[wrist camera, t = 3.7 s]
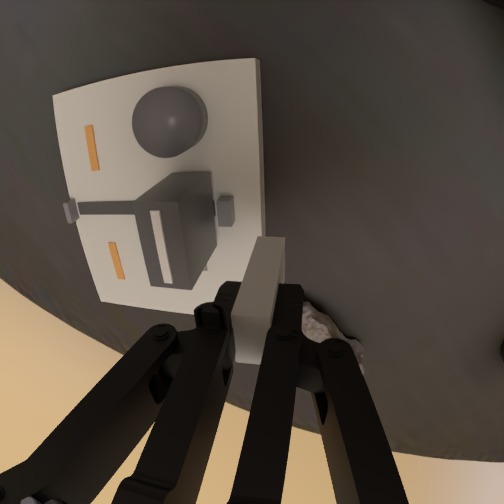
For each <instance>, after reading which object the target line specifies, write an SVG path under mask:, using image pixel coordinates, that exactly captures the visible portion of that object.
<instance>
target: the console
mask: <svg viewBox="0 0 504 504" xmlns="http://www.w3.org/2000/svg"><path fill="white" fill-rule="evenodd" d="M53 104H54V112H55V120H56V127H57V134H58V140H59V146H60V152H61V157H62V163H63V168H64V173H65V178H66V182H67V187H68V191H69V196H70V199H69V200H67V201H66V202H64V203H63V206H64V210H65V214H66V218H67V221H68V223H73V222H75V221H76V224H77V227H78V231H79V235H80V238H81V242H82V245H83V248H84V252H85V255H86V258H87V261H88V265H89V268H90V271H91V274H92V277H93V280H94V283H95V286H96V289H97V291H98V294H99V297H100V300H101V301H103V302H109V303H115V304H122V305H128V306H135V307H141V308H148V309H155V310H163V311H170V312H178V313H186V314H194V309H195V308H196V307H197V306H199V305H200V304H203V303H206V302H213V301H214V299H215V296H216V295H217V292H218V290H219V287H220V286H221V285H222V284H223V283H224V282H226V281H238V282H242V280H243V277H244V274H245V271H246V269H247V266H248V263H249V260H250V257H251V254H252V251H253V248H254V245H255V242H256V240H257V237H258V236H264V237H266V225H265V187H264V154H263V125H262V98H261V73H260V60H259V59H256V58H245V59H231V60H219V61H209V62H200V63H192V64H185V65H178V66H172V67H165V68H160V69H154V70H149V71H143V72H138V73H134V74H129V75H125V76H120V77H116V78H112V79H108V80H104V81H100V82H96V83H92V84H89V85H85V86H82V87H78V88H75V89H72V90H68V91H65V92H62V93H59V94H56V95H53ZM179 172H210V178H211V189H212V200H213V211H214V221H215V231H216V241H217V246H216V248H215V250H214V252H213V253H212V255H211V257H210V259H209V261H208V262H207V264H206V266H205V268H204V269H203V271H202V273H201V275H200V277H199V278H198V280H197V282H196V284H195V286H194V287H193V289H192V290H182V289H173V288H163V287H154V286H151V285H150V281H149V277H148V273H147V269H146V265H145V261H144V256H143V252H142V248H141V243H140V239H139V234H138V229H137V224H136V219H135V214H134V209H133V204H132V202H133V201H134V200H136V199H137V198H138V197H140V196H141V195H142V194H144V193H145V192H146V191H148V190H149V189H150V188H152V187H153V186H154V185H156V184H157V183H158V182H160V181H161V180H163V179H164V178H165V177H167V176H168V175H169V174H171V173H179Z"/></svg>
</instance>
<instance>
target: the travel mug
mask: <svg viewBox="0 0 504 504" xmlns="http://www.w3.org/2000/svg"><path fill="white" fill-rule="evenodd" d="M501 356H502V359H503V361H504V341H503V343H502V346H501Z"/></svg>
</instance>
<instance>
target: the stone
mask: <svg viewBox="0 0 504 504" xmlns="http://www.w3.org/2000/svg"><path fill="white" fill-rule="evenodd" d="M302 331H303V333H304V335H305V336H306V337H307V338H309V339H310V340H313V341H315V342H319V343H321V342H322V341H324V340H325V339H329V338H339V339H343V340H345V341H346V342H348V343H349V344H350V346H351V347H352V349H353V352H354V354H355V356H356V359H357V361H358V364H359V366H360V369H361V371H362V374H363V375H364V368H365V366H364V363H363V358H362V357H363V354H364V351H363V348H362V346H361V345H360V342H358V341H357V340H356V339H352V340H351V339H347V338H346V337H345V336H343V334H342V333H341V332H340V331H339V330H338V327H337V326H336V325H335V324H334V322H332V320H331V318H330V317H329V316H328V315H326V314H324V313H320V312H318V311H317V309H315V308H314V307H313V306H311V304H310V303H309V302H303V315H302Z"/></svg>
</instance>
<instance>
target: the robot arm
mask: <svg viewBox="0 0 504 504" xmlns="http://www.w3.org/2000/svg"><path fill="white" fill-rule="evenodd" d="M484 1H486V2H488V3H490V4H493V5H495V6H497V7H500V8H503V9H504V0H484ZM284 280H285V237H264V236H258V237H257V240H256V242H255V245H254V248H253V251H252V254H251V257H250V260H249V263H248V266H247V269H246V271H245V274H244V277H243V280H242V282H238V281H226V282H224V283H223V284H222V285H221V286H220V287H219V290H218V292H217V295H216V296H215V299H214V301H213V302H206V303H203V304H200V305H199V306H197V307H196V308H195V309H194V316H195V321H196V328H195V329H193V330H188V331H180V332H177V330H176V329H175V327H174V326H172V325H170V324H158V325H155V326H153V327H151V328H150V329H149V330H148V331H147V332H146V333H145V334H144V335H143V336H142V337H141V338H140V339H139V340H138V341H137V342H136V343H135V344H134V345H133V346H132V347H131V348H130V349H129V350H128V351H127V353H126V354H125V355H124V356H123V357H122V358H121V359H120V360H119V361H118V362H117V363H116V364H115V365H114V366H113V367H112V368H111V369H110V370H109V372H108V373H107V374H106V375H105V376H104V377H103V378H102V379H101V380H100V381H99V382H98V383H97V384H96V385H95V386H94V387H93V388H92V390H91V391H90V392H89V393H88V394H87V395H86V396H85V397H84V398H83V399H82V400H81V401H80V402H79V403H78V405H77V406H76V407H75V408H74V409H73V410H72V411H71V412H70V413H69V414H68V415H67V416H66V417H65V419H64V420H63V421H62V422H61V423H60V424H59V425H58V426H57V427H56V428H55V429H54V431H52V433H51V434H50V435H49V436H48V437H47V438H46V439H45V440H44V441H43V442H42V444H41V445H40V446H39V447H38V448H37V449H36V450H35V451H34V452H33V453H32V455H31V456H30V457H29V458H28V459H27V460H25V461H24V462H22V463H20V464H18V465H16V466H14V467H12V468H11V469H9V470H7V471H5V472H3V473H1V474H0V504H90V503H91V502H92V501H93V500H94V499H95V498H96V496H97V495H98V494H99V493H100V491H101V490H102V489H103V487H104V486H105V485H106V484H107V482H108V481H109V480H110V479H111V477H112V476H113V475H114V474H115V472H116V471H117V470H118V469H119V467H120V466H121V465H122V463H123V462H124V461H125V460H126V458H127V457H128V456H129V454H130V453H131V452H132V451H133V449H134V448H135V447H136V445H137V444H138V443H139V441H140V440H141V439H142V438H143V436H144V435H145V434H146V432H147V431H148V430H149V428H150V427H151V426H152V424H153V423H154V422H155V423H154V426H153V428H152V430H151V433H150V435H149V437H148V440H147V442H146V445H145V447H144V449H143V452H142V454H141V456H140V459H139V461H138V464H137V466H136V469H135V471H134V473H133V474H132V475H131V476H130V477H127V478H124V479H123V480H122V481H121V483H120V485H119V487H118V489H117V491H116V494H115V496H114V498H113V501H112V503H111V504H196V501H197V497H198V494H199V491H200V487H201V484H202V480H203V477H204V473H205V470H206V466H207V463H208V460H209V456H210V452H211V449H212V446H213V442H214V439H215V435H216V432H217V428H218V424H219V421H220V418H221V414H222V410H223V407H224V403H225V400H226V396H227V393H228V389H229V386H230V382H231V378H232V375H233V360H234V357H235V359H236V362H240V363H249V364H259V365H260V369H259V373H258V378H257V383H256V387H255V392H254V397H253V401H252V406H251V410H250V415H249V419H248V424H247V429H246V432H245V437H244V441H243V446H242V450H241V454H240V459H239V463H238V467H237V472H236V475H235V480H234V484H233V488H232V492H231V496H230V499H229V501H228V502H227V504H281V499H282V493H283V486H284V480H285V473H286V466H287V459H288V452H289V444H290V436H291V428H292V420H293V412H294V403H295V394H296V387H299V388H302V389H304V390H307V391H310V392H311V394H312V398H313V402H314V407H315V411H316V415H317V419H318V423H319V428H320V432H321V436H322V440H323V445H324V449H325V453H326V458H327V462H328V467H329V471H330V475H331V480H332V484H333V489H334V493H335V498H336V503H337V504H409V503H408V500H407V497H406V493H405V490H404V487H403V484H402V481H401V478H400V475H399V472H398V469H397V466H396V463H395V460H394V458H393V455H392V452H391V449H390V446H389V443H388V440H387V438H386V435H385V432H384V429H383V427H382V424H381V421H380V418H379V416H378V413H377V410H376V408H375V405H374V402H373V400H372V397H371V395H370V392H369V389H368V387H367V384H366V382H365V379H364V377H363V374H362V371H361V369H360V366H359V364H358V361H357V359H356V356H355V354H354V352H353V349H352V347H351V346H350V344H349V343H348V342H346V341H345V340H343V339H339V338H329V339H325V340H324V341H322V342H321V343H319V342H315V341H313V340H310V339H309V338H307V337H306V336H305V335H304V333H303V331H302V315H303V300H304V290H303V289H302V287H301V285H300V284H284Z"/></svg>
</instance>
